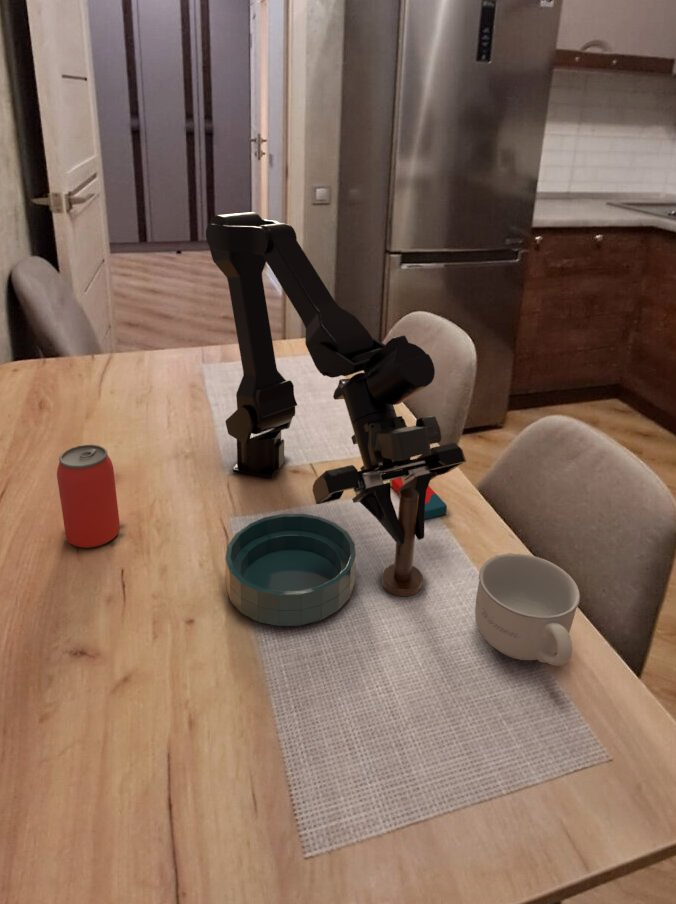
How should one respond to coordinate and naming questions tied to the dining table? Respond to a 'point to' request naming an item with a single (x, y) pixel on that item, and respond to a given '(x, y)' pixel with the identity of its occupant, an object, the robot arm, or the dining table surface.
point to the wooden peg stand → (404, 550)
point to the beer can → (88, 496)
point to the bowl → (290, 569)
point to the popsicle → (432, 500)
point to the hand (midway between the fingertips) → (411, 541)
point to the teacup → (526, 607)
